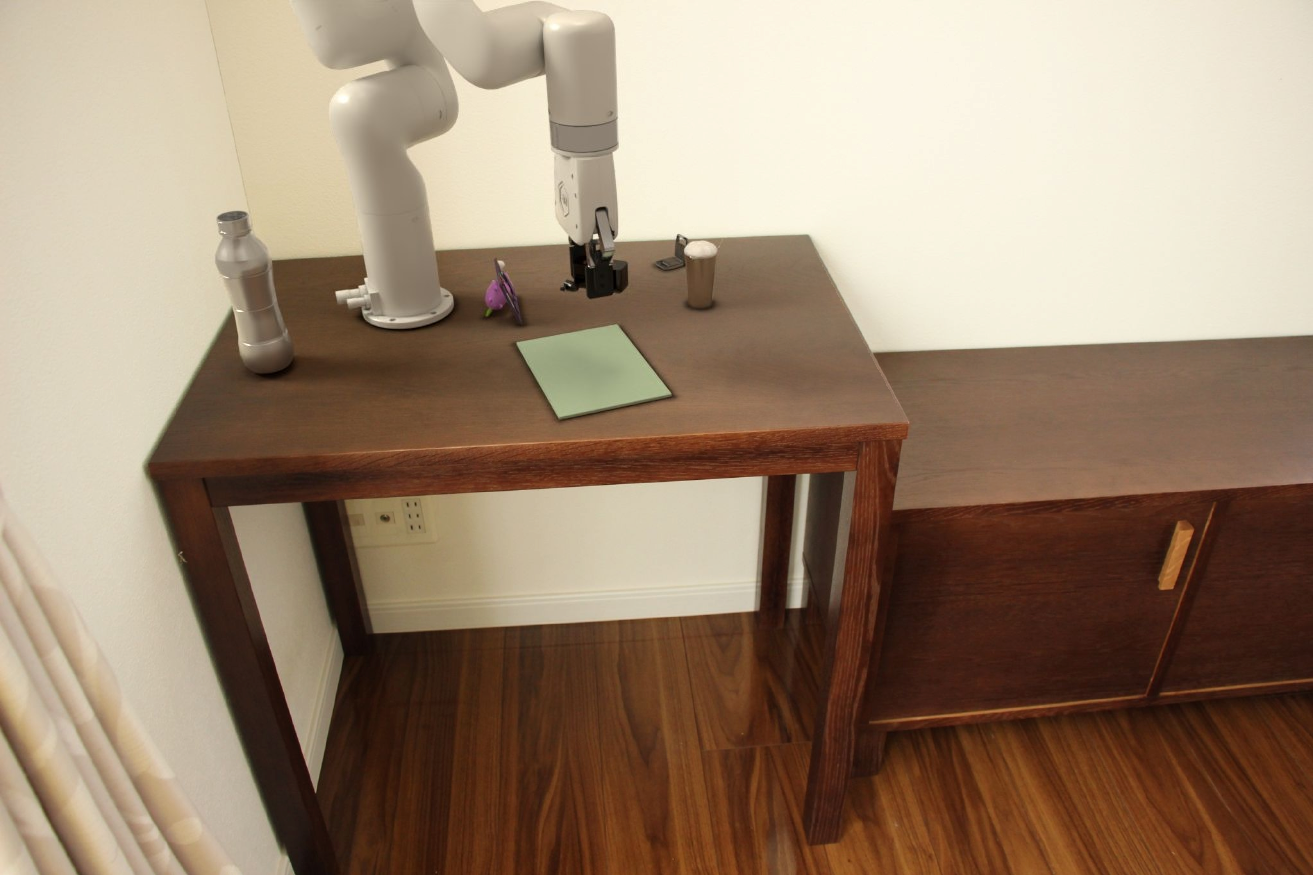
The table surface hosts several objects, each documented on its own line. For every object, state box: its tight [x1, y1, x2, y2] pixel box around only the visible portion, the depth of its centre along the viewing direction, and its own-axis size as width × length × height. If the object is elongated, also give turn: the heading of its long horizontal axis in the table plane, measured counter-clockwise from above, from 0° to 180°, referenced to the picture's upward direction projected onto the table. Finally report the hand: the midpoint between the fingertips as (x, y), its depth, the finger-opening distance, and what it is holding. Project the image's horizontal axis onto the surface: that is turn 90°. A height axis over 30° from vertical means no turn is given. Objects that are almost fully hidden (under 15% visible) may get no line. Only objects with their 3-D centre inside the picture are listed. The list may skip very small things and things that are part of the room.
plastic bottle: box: [214, 210, 295, 375], centre depth 120 cm, size 6×7×20 cm
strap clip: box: [654, 233, 690, 270], centre depth 151 cm, size 8×3×4 cm, turn 123°
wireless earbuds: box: [559, 256, 629, 295], centre depth 117 cm, size 5×7×3 cm, turn 70°
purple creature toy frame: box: [484, 257, 523, 326], centre depth 136 cm, size 7×5×9 cm
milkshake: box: [684, 238, 724, 309], centre depth 137 cm, size 4×5×10 cm
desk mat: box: [516, 323, 673, 421], centre depth 124 cm, size 14×20×1 cm
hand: (591, 284), depth 118 cm, fingers closed on wireless earbuds, 5 cm apart
